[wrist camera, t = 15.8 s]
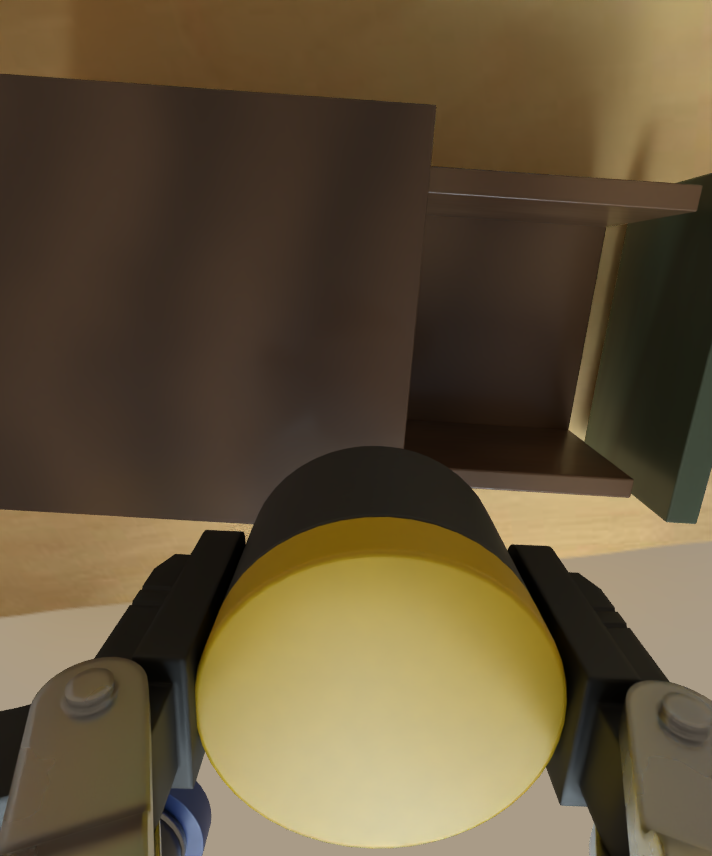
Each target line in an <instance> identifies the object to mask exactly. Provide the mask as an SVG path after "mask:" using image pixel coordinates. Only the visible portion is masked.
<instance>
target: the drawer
mask: <svg viewBox="0 0 712 856" xmlns="http://www.w3.org/2000/svg"><path fill="white" fill-rule="evenodd" d="M622 224H627V229H626V234H625V239H624V244H623V249H622V254H621V259H620V264H619V269H618V275H617V280H616V285H615V290H614V295H613V300H612V305H611V310H610V315H609V320H608V325H607V330H606V335H605V340H604V345H603V350H602V355H601V360H600V366H599V371H598V376H597V381H596V386H595V391H594V396H593V401H592V406H591V411H590V416H589V421H588V426H587V431H586V436H585V441H582V440H581V439H580V438H578V437H577V436H576V435H574V434H573V433H572V432H570V431H569V430H568V428H569V423H570V417H571V412H572V407H573V401H574V396H575V391H576V385H577V380H578V375H579V369H580V364H581V359H582V353H583V348H584V343H585V337H586V332H587V327H588V321H589V316H590V311H591V305H592V300H593V295H594V289H595V284H596V279H597V273H598V268H599V263H600V257H601V252H602V247H603V241H604V236H605V231H606V227H611V226H617V225H622ZM404 449H405V450H409V451H413V452H416V453H419V454H422V455H424V456H427V457H430V458H432V459H434V460H435V461H437V462H439V463H441V464H443V465H445V466H446V467H448V468H449V469H450V470H452V471H453V472H455V473H456V474H457V475H459V476H460V477H461V478H462V479H463V480H464V481H465V482H466V483H467V484H468V485H469V486H470V487H471V488H476V489H492V490H509V491H526V492H542V493H559V494H576V495H592V496H609V497H626V498H629V497H630V496H631V494H632V495H634V496H635V497H636V498H637V499H639V500H640V501H641V502H642V503H643V504H645V505H646V506H647V507H648V508H650V509H651V510H652V511H653V512H655V513H656V514H657V515H658V516H659V517H661V518H662V519H663V520H664V521H666V522H673V523H690V524H696V523H697V519H698V516H699V512H700V508H701V505H702V501H703V497H704V494H705V490H706V486H707V483H708V479H709V475H710V472H711V468H712V173H710V174H706V175H703V176H699V177H696V178H692V179H688V180H685V181H681V182H678V183H664V182H649V181H635V180H621V179H606V178H592V177H578V176H564V175H549V174H535V173H521V172H506V171H492V170H478V169H463V168H449V167H435V166H431V169H430V180H429V190H428V201H427V211H426V222H425V233H424V243H423V254H422V264H421V275H420V285H419V296H418V306H417V317H416V327H415V338H414V348H413V359H412V369H411V380H410V391H409V401H408V412H407V422H406V433H405V443H404Z"/></svg>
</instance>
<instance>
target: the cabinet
mask: <svg viewBox="0 0 712 856" xmlns="http://www.w3.org/2000/svg"><path fill="white" fill-rule="evenodd" d="M435 117H436V105H429V104H415V103H402V102H388V101H374V100H360V99H346V98H332V97H318V96H304V95H290V94H276V93H262V92H248V91H234V90H220V89H206V88H193V87H179V86H165V85H151V84H137V83H123V82H109V81H95V80H81V79H67V78H53V77H39V76H25V75H11V74H0V509H4V510H21V511H38V512H55V513H72V514H89V515H106V516H123V517H140V518H157V519H175V520H192V521H209V522H226V523H243V524H254V523H255V520H256V518H257V515H258V513H259V511H260V510H261V508H262V506H263V504H264V502H265V501H266V499H267V498H268V497H269V495H270V494H271V493H272V491H273V490H274V489H275V488H276V487H277V486H278V485H279V484H280V483H281V482H282V481H283V480H284V479H285V478H286V477H287V476H288V475H290V474H291V473H292V472H294V471H295V470H296V469H298V468H299V467H301V466H303V465H304V464H306V463H308V462H310V461H311V460H313V459H315V458H318V457H320V456H323V455H325V454H328V453H331V452H334V451H338V450H342V449H346V448H353V447H360V446H386V447H396V448H401V449H404V443H405V433H406V422H407V412H408V401H409V391H410V380H411V369H412V359H413V348H414V338H415V327H416V317H417V306H418V296H419V285H420V275H421V264H422V254H423V243H424V233H425V222H426V211H427V201H428V190H429V180H430V169H431V159H432V148H433V138H434V127H435Z"/></svg>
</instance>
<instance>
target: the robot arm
mask: <svg viewBox="0 0 712 856" xmlns="http://www.w3.org/2000/svg"><path fill="white" fill-rule="evenodd" d="M245 545H246V541H245V535H244V532H239V531H217V530H205V531H204V533H203V534H202V536H201V538H200V539H199V541H198V543H197V545H196V546H195V548H194V550H193V552H192V553H191V555H185V554H175V555H173V556H172V557H170V558H169V559H167V560H166V561H165V562H163V563H162V564H160V565H159V566H157V567H156V568H154V570H153V571H152V573H151V574H150V576H149V577H148V579H147V580H146V582H145V583H144V585H143V588H142V590H140V591H139V592H138V594H137V595H136V597H135V598H134V600H133V603H132V605H130V606H129V607H128V609H127V611H126V612H125V613H124V615H123V616H122V618H121V619H120V621H119V622H118V624H117V625H116V627H115V628H114V630H113V631H112V633H111V634H110V636H109V637H108V639H107V640H106V642H105V643H104V645H103V646H102V648H101V649H100V651H99V652H98V654H97V655H96V657H95V658H94V659H91V660H88V661H84V662H81V663H78V664H76V665H74V666H72V667H69V668H67V669H65V670H64V671H62V672H61V673H59V674H57V675H56V676H55V677H53V678H52V679H51V680H49V681H48V682H47V683H46V684H45V685H44V686H43V687H42V688H41V689H40V691H39V692H38V693H37V694H36V696H35V698H34V700H33V701H32V704H30V705H26V706H23V707H19V708H14V709H9V710H4V711H0V856H185V853H186V845H187V843H186V837H185V833H184V831H183V829H182V827H181V825H180V823H179V822H178V821H177V819H176V818H175V817H174V816H173V815H172V814H171V813H170V812H169V811H167V810H166V809H165V808H164V807H165V804H166V801H167V798H168V796H169V793H170V790H171V788H178V789H193V788H194V785H195V782H196V778H197V775H198V772H199V769H200V766H201V763H202V759H203V756H204V753H205V750H204V748H203V746H202V743H201V739H200V736H199V733H198V729H197V719H196V701H195V681H196V673H197V668H198V664H199V661H200V659H201V656H202V653H203V650H204V648H205V645H206V643H207V640H208V638H209V635H210V633H211V630H212V628H213V625H214V623H215V620H216V618H217V615H218V613H219V610H220V608H221V605H222V603H223V600H224V598H225V595H226V593H227V590H228V588H229V585H230V583H231V580H232V578H233V575H234V573H235V570H236V568H237V565H238V563H239V560H240V558H241V555H242V553H243V550H244V548H245ZM508 553H509V555H510V557H511V559H512V561H513V563H514V564H515V566H516V568H517V570H518V572H519V574H520V576H521V578H522V580H523V582H524V584H525V586H526V588H527V589H528V591H529V593H530V595H531V597H532V599H533V601H534V603H535V605H536V607H537V609H538V611H539V612H540V614H541V616H542V618H543V620H544V622H545V624H546V626H547V628H548V630H549V632H550V634H551V636H552V637H553V639H554V641H555V644H556V646H557V649H558V652H559V654H560V657H561V659H562V663H563V667H564V672H565V677H566V687H567V707H566V714H565V722H564V726H563V730H562V733H561V736H560V740H559V743H558V745H557V747H556V749H555V751H554V753H553V755H552V758H551V760H550V761H549V763H548V764H547V766H546V768H547V771H548V774H549V776H550V779H551V782H552V784H553V787H554V790H555V793H556V795H557V798H558V800H559V803H560V805H564V806H586V807H588V809H589V812H590V814H591V816H592V818H593V821H594V825H593V829H592V833H591V837H590V843H589V856H712V701H711V700H710V699H708V698H706V697H705V696H703V695H701V694H699V693H697V692H695V691H693V690H691V689H689V688H686V687H684V686H681V685H678V684H675V683H671V682H669V680H668V679H667V678H666V676H665V675H664V674H663V672H662V671H661V670H660V668H659V667H658V666H657V664H656V663H655V661H654V660H653V659H652V657H651V656H650V655H649V653H648V652H647V651H646V650H645V648H644V647H643V645H642V644H641V643H640V641H639V640H638V639H637V637H636V636H635V635H634V633H633V632H632V631H631V629H630V628H627V626H626V623H625V621H624V620H623V618H622V617H621V616H620V614H619V613H618V612H615V608H614V606H613V605H612V604H611V602H610V601H609V600H608V598H607V597H606V596H605V594H604V593H603V592H602V590H601V589H600V588H598V587H597V586H595V585H594V584H593V583H591V582H590V581H589V580H587V579H586V578H585V577H583V576H582V575H580V574H579V573H570V572H568V571H567V570H566V568H565V567H564V565H563V564H562V562H561V561H560V559H559V558H558V556H557V555H556V553H555V552H554V550H553V549H552V548H551V547H549V546H534V545H510V546H509V548H508Z"/></svg>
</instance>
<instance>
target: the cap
mask: <svg viewBox="0 0 712 856" xmlns="http://www.w3.org/2000/svg"><path fill="white" fill-rule="evenodd" d="M195 701H196V719H197V729H198V733H199V736H200V739H201V743H202V746H203V748H204V750H205V752H206V754H207V756H208V758H209V760H210V762H211V764H212V765H213V767H214V768H215V770H216V771H217V773H218V774H219V776H220V777H221V779H222V780H223V781H224V782H225V783H226V785H227V786H228V787H229V788H230V789H231V790H232V791H233V792H234V794H235V795H237V796H238V797H239V798H240V799H241V800H242V801H244V802H245V803H246V804H247V805H248V806H249V807H251V808H252V809H253V810H255V811H256V812H258V813H260V814H261V815H262V816H264V817H265V818H267V819H268V820H270V821H272V822H274V823H276V824H278V825H280V826H282V827H284V828H286V829H288V830H290V831H293V832H296V833H298V834H300V835H303V836H306V837H309V838H312V839H316V840H320V841H323V842H326V843H332V844H337V845H343V846H349V847H360V848H361V847H362V848H398V847H407V846H415V845H420V844H425V843H430V842H435V841H438V840H442V839H445V838H448V837H452V836H455V835H458V834H460V833H462V832H465V831H467V830H469V829H472V828H474V827H476V826H478V825H480V824H482V823H484V822H486V821H487V820H489V819H491V818H493V817H495V816H496V815H497V814H499V813H500V812H502V811H503V810H505V809H506V808H508V807H509V806H510V805H511V804H513V803H514V802H515V801H516V800H517V799H518V798H519V797H521V796H522V795H523V794H524V793H525V792H526V791H527V790H528V789H529V788H530V787H531V785H532V784H533V783H534V782H535V781H536V780H537V778H539V776H540V775H541V773H542V772H543V770H544V769H545V767H546V766H547V764H548V763H549V761H550V760H551V758H552V755H553V753H554V751H555V749H556V747H557V745H558V743H559V740H560V736H561V733H562V730H563V726H564V722H565V714H566V707H567V687H566V677H565V672H564V667H563V663H562V659H561V657H560V654H559V652H558V649H557V646H556V644H555V641H554V639H553V637H552V636H551V634H550V632H549V630H548V628H547V626H546V624H545V622H544V620H543V618H542V616H541V614H540V612H539V611H538V609H537V607H536V605H535V603H534V601H533V599H532V597H531V595H530V593H529V591H528V589H527V588H526V586H525V584H524V582H523V580H522V578H521V576H520V574H519V572H518V570H517V568H516V566H515V564H514V563H513V561H512V559H511V557H510V555H509V553H508V551H507V549H506V547H505V545H504V543H503V541H502V539H501V538H500V536H499V534H498V532H497V530H496V528H495V526H494V524H493V522H492V520H491V518H490V516H489V514H488V513H487V511H486V509H485V507H484V506H483V504H482V502H481V500H480V499H479V497H478V496H477V495H476V493H475V492H474V491H473V490H472V488H471V487H470V486H469V485H468V484H467V483H466V482H465V481H464V480H463V479H462V478H461V477H460V476H459V475H457V474H456V473H455V472H453V471H452V470H450V469H449V468H448V467H446V466H445V465H443V464H441V463H439V462H437V461H435V460H434V459H432V458H430V457H427V456H424V455H422V454H419V453H416V452H413V451H409V450H405V449H401V448H396V447H386V446H360V447H353V448H346V449H342V450H338V451H334V452H331V453H328V454H325V455H323V456H320V457H318V458H315V459H313V460H311V461H310V462H308V463H306V464H304V465H303V466H301V467H299V468H298V469H296V470H295V471H294V472H292V473H291V474H290V475H288V476H287V477H286V478H285V479H284V480H283V481H282V482H281V483H280V484H279V485H278V486H277V487H276V488H275V489H274V490H273V491H272V493H271V494H270V495H269V497H268V498H267V499H266V501H265V502H264V504H263V506H262V508H261V510H260V511H259V513H258V515H257V518H256V520H255V523H254V525H253V528H252V530H251V533H250V535H249V538H248V540H247V543H246V545H245V548H244V550H243V553H242V555H241V558H240V560H239V563H238V565H237V568H236V570H235V573H234V575H233V578H232V580H231V583H230V585H229V588H228V590H227V593H226V595H225V598H224V600H223V603H222V605H221V608H220V610H219V613H218V615H217V618H216V620H215V623H214V625H213V628H212V630H211V633H210V635H209V638H208V640H207V643H206V645H205V648H204V650H203V653H202V656H201V659H200V661H199V664H198V668H197V673H196V681H195Z"/></svg>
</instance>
